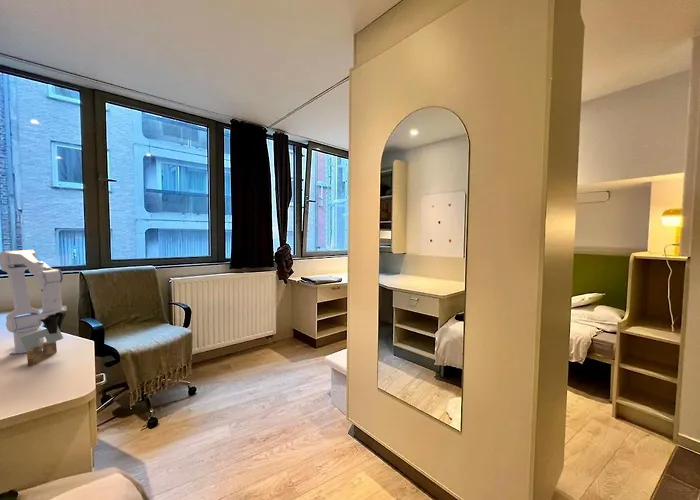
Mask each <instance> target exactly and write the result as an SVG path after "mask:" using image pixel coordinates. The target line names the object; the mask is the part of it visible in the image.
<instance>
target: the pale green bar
mask: <svg viewBox="0 0 700 500" xmlns="http://www.w3.org/2000/svg"><path fill="white" fill-rule="evenodd" d="M42 337H44V338H45V340H46V341H47V342H48V344H49V343H52V342H55V341H56V342H57V341H61V340H63V339H64V336H63V334H62V332H61V329H59V327H58V325H57V333H53V334H49V332H48V330H47V328H44V329H42V330H40V331H37V332H34V333H31V334H28V335H25V336H22V337H20V339H21V341H22V343H23V346H24V348H25V350H26V351H28V350H30V349H32V348H34V347H36V346H42V344H41V342H40V340H39V338H42Z"/></svg>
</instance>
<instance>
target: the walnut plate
mask: <svg viewBox="0 0 700 500" xmlns="http://www.w3.org/2000/svg"><path fill="white" fill-rule="evenodd" d="M56 353H58V347H57V341H55V342H52V343H49V344H48V342H47V340H46V341H44V343H42V346H36V347H34V348H32V349H30V350H28V351H27V352H26V358H27V359H26V360H27V366H28V367H34V366H36V365H38V364H39V363H41V362H43V361H44V360H46V359H48V358H49V357H51V356H53V355H54V354H56Z"/></svg>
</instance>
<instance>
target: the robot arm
mask: <svg viewBox="0 0 700 500" xmlns="http://www.w3.org/2000/svg"><path fill="white" fill-rule="evenodd" d="M36 253H37V252H35V250H33V249H21V250H19V249H18V250H2V251H1V252H0V269H1V271H3V272H5V273H7V277H8V282H9V287H10V292H11V296H12V297H11V298H12V302H13V308H14V309H13V310H12V311H10V312H9V313H8V314H7V315H6V317H5V318H6V319H5V320H6V322H5V327H6V329H7V331H8V332H9V333H12V334H13V341H14V342H13V343H14V350H13V351H11V352H9V354H8V355H16V354H23V353H26V354H27V351H26V350H25V348H24V346H23V343H22V341H21V339H20V337H22V336H25V335H28V334H31V333H34V332H37V331H40V330H43V329H42V328H41V326H42V324H44V326H45V327H46V328H45V329H47V330H48V332H49V334H53V333H57V325H58V327H59V329H60V330H61V328H62V324H63V321H64V318H65V317H66V315H67V313H66V311H68V307H67V305H63V299H62V290H61V283H62V282H63V281H64V280H63V279H64V274H63V271H62V270H61V269H60V268H52V267H51V266H49V264H47V263H46V262H44V261H41V260H40V261H39V260H38V259H37V257H38V256H37V254H36ZM27 270H28V272H29V273H30V274H32V275H33V276H34V277H35V279H36V282H37V286H38V289H39V290H40V297H41V308H42V311H41V312H40V310H39V309H37V308H36V307H32V306H31V301H30V297H29V296H30V295H29V290H28V286H27V281H26V276H25V271H27ZM44 338H45V337H42V338H39V340H40V342H41V344H42V343H44V342H45V340H44Z"/></svg>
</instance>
